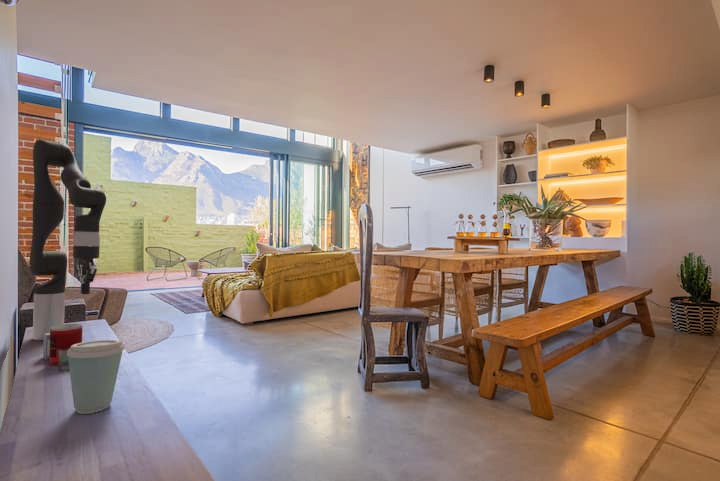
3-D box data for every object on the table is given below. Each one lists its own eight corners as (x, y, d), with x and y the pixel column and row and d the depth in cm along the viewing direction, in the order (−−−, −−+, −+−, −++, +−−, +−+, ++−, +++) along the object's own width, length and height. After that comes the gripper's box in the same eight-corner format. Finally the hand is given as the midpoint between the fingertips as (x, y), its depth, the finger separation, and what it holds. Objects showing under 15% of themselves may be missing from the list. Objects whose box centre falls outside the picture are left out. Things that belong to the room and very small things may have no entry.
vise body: (55, 368, 110) (55, 349, 110) (88, 361, 117) (89, 343, 117) (61, 372, 106) (61, 353, 106) (95, 365, 113) (96, 347, 113)
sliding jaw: (38, 353, 123) (38, 330, 124) (64, 349, 129) (64, 327, 129) (46, 359, 118) (46, 335, 118) (73, 354, 123) (73, 331, 123)
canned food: (87, 358, 120) (88, 323, 120) (66, 366, 112) (67, 329, 112) (65, 357, 120) (65, 322, 121) (42, 365, 112) (43, 328, 113)
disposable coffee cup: (65, 405, 85) (67, 339, 85) (121, 394, 92) (122, 333, 92) (64, 423, 77) (66, 350, 77) (125, 410, 83) (127, 342, 83)
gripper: (67, 244, 132) (65, 293, 132) (80, 245, 125) (79, 297, 124) (91, 244, 138) (90, 291, 138) (106, 245, 131) (105, 295, 130)
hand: (85, 294), depth 131 cm, fingers closed
